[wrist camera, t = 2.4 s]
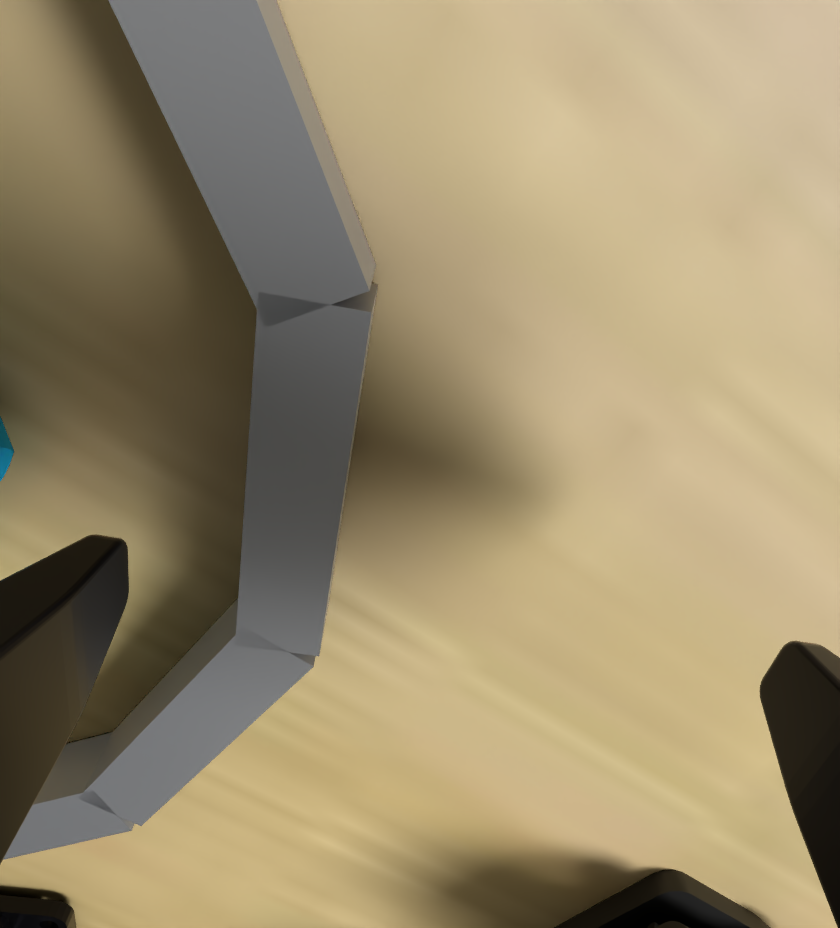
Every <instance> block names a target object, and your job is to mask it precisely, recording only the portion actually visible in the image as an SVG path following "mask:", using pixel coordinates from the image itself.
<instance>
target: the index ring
mask: <svg viewBox="0 0 840 928" xmlns="http://www.w3.org/2000/svg"><path fill="white" fill-rule="evenodd" d="M108 1H109V3H110V5H111V7H112V9H113V11H114V13H115V15H116V17H117V19H118V21H119V24H120V26H121V28H122V30H123V32H124V34H125V36H126V38H127V40H128V42H129V44H130V46H131V49H132V51H133V53H134V55H135V57H136V59H137V61H138V63H139V65H140V67H141V69H142V71H143V73H144V76H145V78H146V80H147V82H148V84H149V86H150V88H151V90H152V92H153V94H154V96H155V98H156V101H157V103H158V105H159V107H160V109H161V111H162V113H163V115H164V117H165V119H166V121H167V123H168V126H169V128H170V130H171V132H172V134H173V136H174V138H175V140H176V142H177V144H178V146H179V148H180V151H181V153H182V155H183V157H184V159H185V161H186V163H187V165H188V167H189V169H190V171H191V173H192V175H193V178H194V180H195V182H196V184H197V186H198V188H199V190H200V192H201V194H202V196H203V198H204V200H205V203H206V205H207V207H208V209H209V211H210V213H211V215H212V217H213V219H214V221H215V223H216V225H217V228H218V230H219V232H220V234H221V236H222V238H223V240H224V242H225V244H226V246H227V248H228V250H229V253H230V255H231V257H232V259H233V261H234V263H235V265H236V267H237V269H238V271H239V273H240V275H241V277H242V280H243V282H244V284H245V286H246V288H247V290H248V292H249V294H250V296H251V298H252V300H253V302H254V305H255V307H256V309H257V318H256V334H255V349H254V364H253V380H252V395H251V410H250V425H249V441H248V456H247V471H246V487H245V502H244V517H243V532H242V548H241V563H240V578H239V594H238V598H237V599H236V601H235V602H234V603H233V604H232V605H231V606H230V607H229V608H228V609H227V610H226V611H225V612H224V613H223V614H222V616H221V617H220V618H219V619H218V620H217V621H216V622H215V623H214V624H213V625H212V626H211V627H210V628H209V629H208V631H207V632H206V633H205V634H204V635H203V636H202V637H201V638H200V639H199V640H198V641H197V642H196V643H195V644H194V645H193V647H192V648H191V649H190V650H189V651H188V652H187V653H186V654H185V655H184V656H183V657H182V658H181V659H180V660H179V662H178V663H177V664H176V665H175V666H174V667H173V668H172V669H171V670H170V671H169V672H168V673H167V674H166V675H165V677H164V678H163V679H162V680H161V681H160V682H159V683H158V684H157V685H156V686H155V687H154V688H153V689H152V690H151V691H150V693H149V694H148V695H147V696H146V697H145V698H144V699H143V700H142V701H141V702H140V703H139V704H138V705H137V706H136V708H135V709H134V710H133V711H132V712H131V713H130V714H129V715H128V716H127V717H126V718H125V719H124V720H123V721H122V722H121V724H120V725H119V726H118V727H117V728H116V729H115V730H114V731H113V732H111V733H107V734H103V735H100V736H96V737H92V738H88V739H84V740H80V741H76V742H72V743H68V744H66V745H65V747H64V748H63V750H62V752H61V754H60V756H59V758H58V759H57V761H56V763H55V765H54V767H53V769H52V770H51V772H50V774H49V776H48V778H47V780H46V781H45V783H44V785H43V787H42V789H41V791H40V792H39V794H38V796H37V798H36V800H35V802H34V803H33V805H32V807H31V809H30V811H29V813H28V814H27V816H26V818H25V820H24V822H23V824H22V825H21V827H20V829H19V831H18V833H17V835H16V836H15V838H14V840H13V842H12V844H11V846H10V847H9V849H8V851H7V853H6V855H5V857H4V858H3V860H4V859H8V858H13V857H17V856H21V855H26V854H30V853H35V852H39V851H43V850H48V849H52V848H57V847H61V846H66V845H70V844H74V843H79V842H83V841H88V840H92V839H97V838H101V837H105V836H110V835H114V834H119V833H123V832H127V831H132V828H133V826H134V823H135V824H138V825H140V826H142V825H143V824H144V823H145V822H146V821H147V820H148V819H149V818H150V817H151V816H152V815H154V814H155V813H156V812H157V811H158V810H159V809H160V808H161V807H162V806H163V805H164V804H165V803H167V802H168V801H169V800H170V799H171V798H172V797H173V796H174V795H175V794H176V793H177V792H178V791H180V790H181V789H182V788H183V787H184V786H185V785H186V784H187V783H188V782H189V781H190V780H191V779H192V778H194V777H195V776H196V775H197V774H198V773H199V772H200V771H201V770H202V769H203V768H204V767H205V766H207V765H208V764H209V763H210V762H211V761H212V760H213V759H214V758H215V757H216V756H217V755H218V754H220V753H221V752H222V751H223V750H224V749H225V748H226V747H227V746H228V745H229V744H230V743H231V742H233V741H234V740H235V739H236V738H237V737H238V736H239V735H240V734H241V733H242V732H243V731H244V730H245V729H247V728H248V727H249V726H250V725H251V724H252V723H253V722H254V721H255V720H256V719H257V718H258V717H260V716H261V715H262V714H263V713H264V712H265V711H266V710H267V709H268V708H269V707H270V706H271V705H273V704H274V703H275V702H276V701H277V700H278V699H279V698H280V697H281V696H282V695H283V694H284V693H286V692H287V691H288V690H289V689H290V688H291V687H292V686H293V685H294V684H295V683H296V682H297V681H298V680H300V679H301V678H302V677H303V676H304V675H305V674H306V673H307V672H308V671H309V670H310V669H311V668H313V666H314V661H315V656H319V653H320V648H321V642H322V637H323V631H324V626H325V620H326V615H327V609H328V604H329V598H330V592H331V585H332V579H333V572H334V566H335V559H336V553H337V546H338V540H339V534H340V527H341V521H342V514H343V508H344V501H345V495H346V488H347V482H348V475H349V469H350V462H351V456H352V449H353V443H354V437H355V430H356V424H357V417H358V411H359V404H360V398H361V391H362V385H363V378H364V372H365V365H366V359H367V353H368V346H369V340H370V333H371V327H372V320H373V314H374V307H375V301H376V294H377V288H378V284H373V283H372V279H373V276H374V272H375V268H376V263H375V261H374V258H373V255H372V253H371V250H370V247H369V245H368V242H367V239H366V237H365V234H364V231H363V229H362V226H361V223H360V221H359V218H358V215H357V213H356V210H355V208H354V205H353V202H352V200H351V197H350V194H349V192H348V189H347V186H346V184H345V181H344V178H343V176H342V173H341V170H340V168H339V165H338V162H337V160H336V157H335V154H334V152H333V149H332V146H331V144H330V141H329V138H328V136H327V133H326V131H325V128H324V125H323V123H322V120H321V117H320V115H319V112H318V109H317V107H316V104H315V101H314V99H313V96H312V93H311V91H310V88H309V85H308V83H307V80H306V77H305V75H304V72H303V69H302V67H301V64H300V61H299V59H298V56H297V54H296V51H295V48H294V46H293V43H292V40H291V38H290V35H289V32H288V30H287V27H286V24H285V22H284V19H283V16H282V14H281V11H280V8H279V6H278V3H277V0H108Z"/></svg>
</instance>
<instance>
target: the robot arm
mask: <svg viewBox="0 0 840 928" xmlns="http://www.w3.org/2000/svg"><path fill="white" fill-rule="evenodd" d="M128 593H129V577H128V549H127V545H126V542H125V541H124V540H122V539H121V538H115V537H108V536H102V535H89V536H87V537H85V538H83V539H81V540H79V541H77V542H75V543H73V544H71V545H69V546H67V547H65V548H63V549H61V550H59V551H57V552H55V553H53V554H52V555H50V556H48V557H46V558H44V559H42V560H40V561H38V562H36V563H34V564H32V565H30V566H28V567H26V568H24V569H22V570H20V571H18V572H16V573H14V574H13V575H11V576H9V577H7V578H5V579H3V580H1V581H0V864H1V862H2V860H3V858H4V857H5V855H6V853H7V851H8V849H9V847H10V846H11V844H12V842H13V840H14V838H15V836H16V835H17V833H18V831H19V829H20V827H21V825H22V824H23V822H24V820H25V818H26V816H27V814H28V813H29V811H30V809H31V807H32V805H33V803H34V802H35V800H36V798H37V796H38V794H39V792H40V791H41V789H42V787H43V785H44V783H45V781H46V780H47V778H48V776H49V774H50V772H51V770H52V769H53V767H54V765H55V763H56V761H57V759H58V758H59V756H60V754H61V752H62V750H63V748H64V747H65V745H66V743H67V741H68V739H69V737H70V736H71V734H72V732H73V730H74V728H75V726H76V724H77V722H78V720H79V718H80V716H81V714H82V712H83V709H84V707H85V705H86V702H87V700H88V698H89V695H90V693H91V690H92V688H93V685H94V683H95V680H96V678H97V675H98V673H99V671H100V668H101V666H102V663H103V661H104V658H105V656H106V653H107V651H108V648H109V646H110V643H111V641H112V639H113V636H114V634H115V631H116V629H117V626H118V624H119V621H120V619H121V616H122V614H123V611H124V609H125V606H126V603H127V599H128ZM760 699H761V703H762V706H763V710H764V713H765V717H766V720H767V724H768V727H769V731H770V734H771V738H772V742H773V745H774V749H775V752H776V756H777V759H778V763H779V766H780V770H781V773H782V777H783V780H784V784H785V787H786V791H787V794H788V797H789V800H790V803H791V806H792V809H793V812H794V815H795V818H796V820H797V823H798V826H799V828H800V831H801V833H802V836H803V839H804V841H805V844H806V846H807V849H808V852H809V854H810V857H811V859H812V862H813V864H814V867H815V870H816V872H817V875H818V877H819V880H820V883H821V885H822V888H823V890H824V893H825V895H826V898H827V901H828V903H829V906H830V908H831V911H832V914H833V916H834V919H835V921H836V924H837V926H838V928H840V658H839V657H838V656H836V655H835V654H833V653H832V652H831V651H829V650H828V649H826V648H825V647H823V646H821V645H818V644H813V643H807V642H800V641H790V642H788V643H787V644H785V645H784V646H783V647H782V649H781V650H780V652H779V654H778V655H777V657H776V658H775V660H774V662H773V663H772V665H771V666H770V668H769V669H768V671H767V673H766V674H765V676H764V677H763V679H762V681H761V685H760ZM0 928H76V922H75V915H74V910H73V908H72V907H71V906H69V905H68V904H66V903H63V902H61V901H55V900H46V899H36V898H26V897H16V896H5V895H0Z"/></svg>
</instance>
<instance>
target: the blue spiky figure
mask: <svg viewBox="0 0 840 928" xmlns="http://www.w3.org/2000/svg"><path fill="white" fill-rule="evenodd" d="M13 453H14V450H13V447H12V445H11V442H10V440H9V437H8V434H7V432H6V429H5V427H4V424H3V422H2V419H1V417H0V481H1V480H2V478H3V477H4V475H5V473H6V471H7V469H8V467H9V465H10V462H11V459H12V456H13Z"/></svg>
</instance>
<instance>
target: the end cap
mask: <svg viewBox="0 0 840 928" xmlns="http://www.w3.org/2000/svg"><path fill="white" fill-rule="evenodd" d="M555 928H770V927H769V926H768V925H767V924H766V923H764V922H763V921H762V920H761V919H760V918H759V917H757V916H756V915H755V914H754V913H752V912H750V911H749V910H747V909H745V908H743V907H742V906H740V905H738V904H737V903H735V902H733V901H731V900H730V899H728V898H726V897H724V896H723V895H721V894H719V893H718V892H716V891H714V890H712V889H711V888H709V887H707V886H706V885H704V884H702V883H700V882H699V881H697V880H695V879H693V878H692V877H690V876H688V875H687V874H685V873H683V872H680V871H676V870H662V871H659V872H656V873H654V874H652V875H650V876H648V877H646V878H644V879H642V880H641V881H639V882H637V883H635V884H633V885H631V886H630V887H628V888H626V889H624V890H622V891H621V892H619V893H617V894H615V895H613V896H611V897H610V898H608V899H606V900H604V901H602V902H600V903H599V904H597V905H595V906H593V907H591V908H589V909H588V910H586V911H584V912H582V913H580V914H578V915H577V916H575V917H573V918H571V919H569V920H567V921H566V922H564V923H562V924H560V925H558V926H556V927H555Z"/></svg>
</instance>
